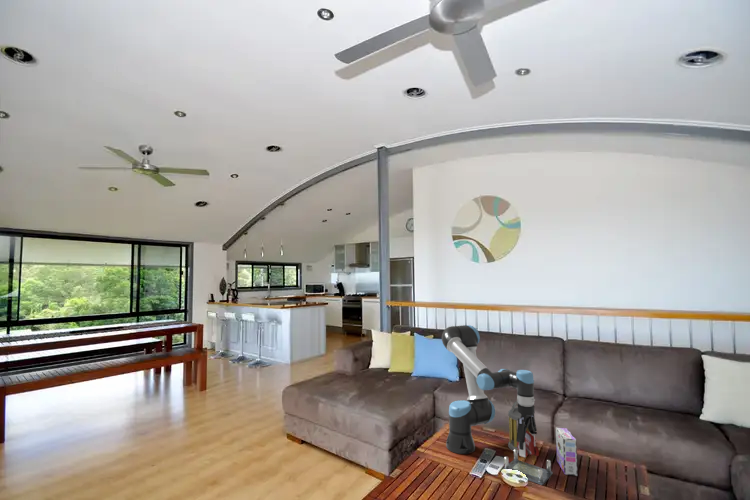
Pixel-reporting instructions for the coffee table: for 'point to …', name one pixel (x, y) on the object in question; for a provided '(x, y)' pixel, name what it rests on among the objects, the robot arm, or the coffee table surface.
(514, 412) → the lantern
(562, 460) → the candy box
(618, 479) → the coffee table surface
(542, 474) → the chassis
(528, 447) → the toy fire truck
